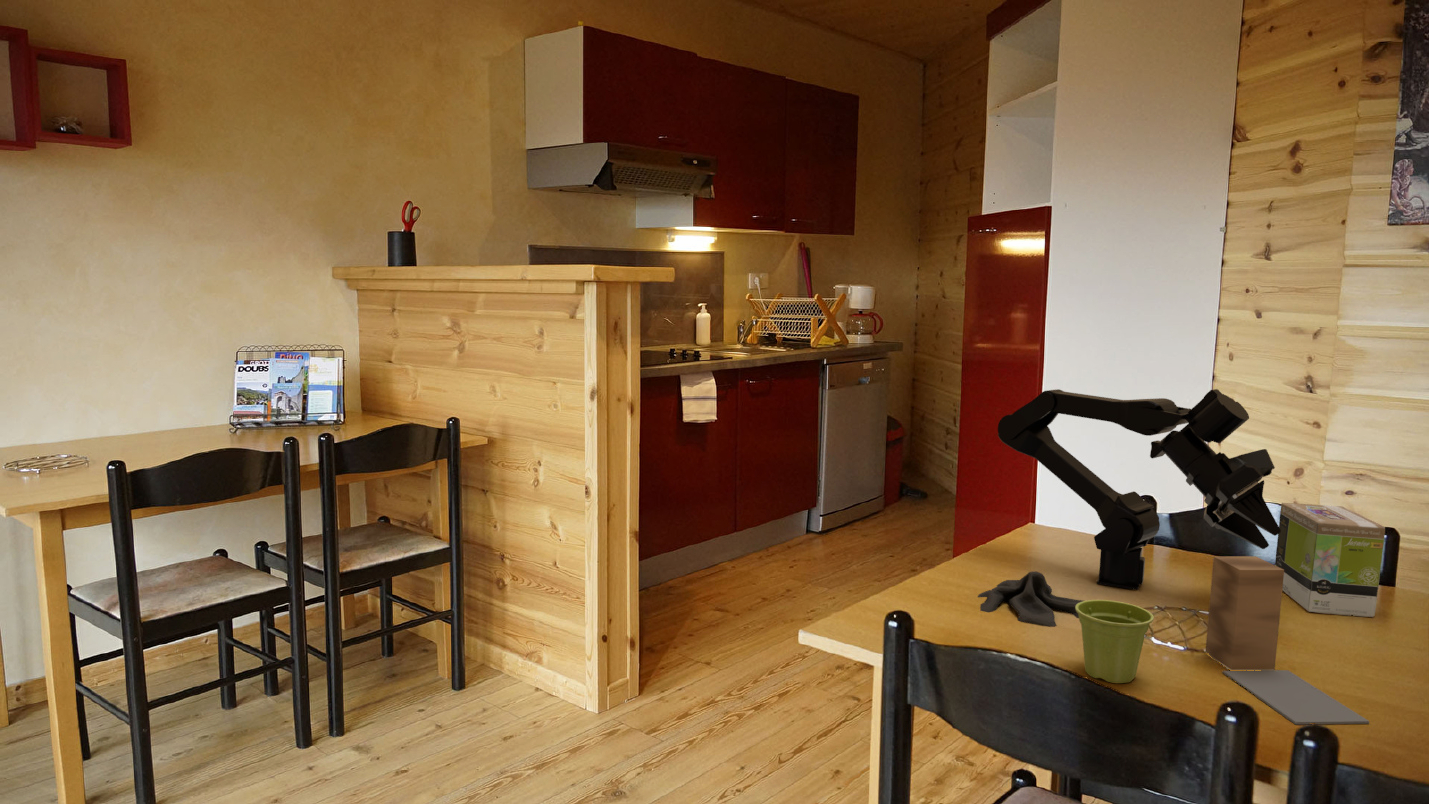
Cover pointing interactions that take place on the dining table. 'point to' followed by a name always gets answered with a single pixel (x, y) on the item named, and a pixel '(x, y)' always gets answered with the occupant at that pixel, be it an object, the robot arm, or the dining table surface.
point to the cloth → (1029, 600)
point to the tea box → (1330, 558)
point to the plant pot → (1112, 638)
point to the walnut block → (1244, 612)
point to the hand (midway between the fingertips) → (1272, 540)
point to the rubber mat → (1295, 697)
